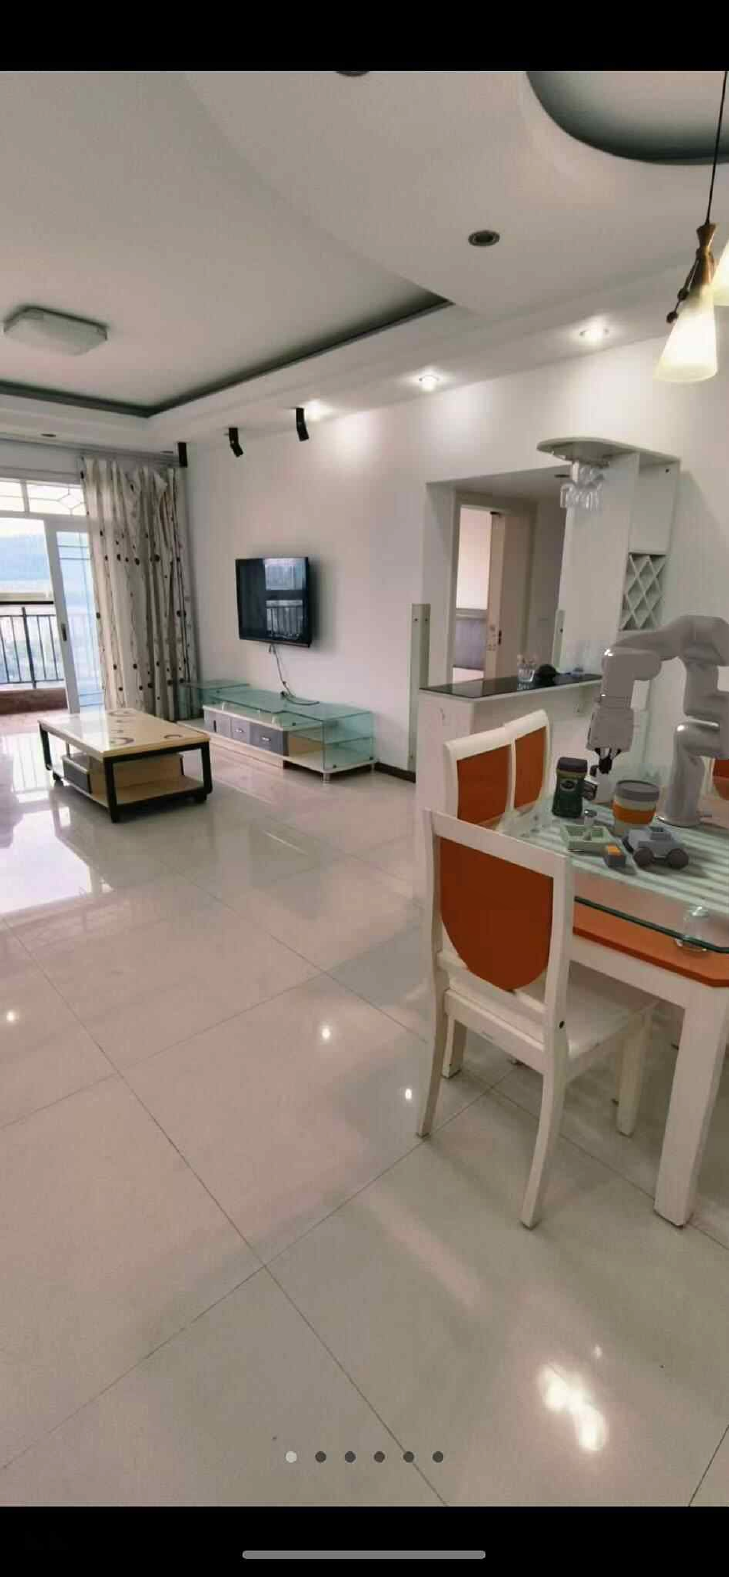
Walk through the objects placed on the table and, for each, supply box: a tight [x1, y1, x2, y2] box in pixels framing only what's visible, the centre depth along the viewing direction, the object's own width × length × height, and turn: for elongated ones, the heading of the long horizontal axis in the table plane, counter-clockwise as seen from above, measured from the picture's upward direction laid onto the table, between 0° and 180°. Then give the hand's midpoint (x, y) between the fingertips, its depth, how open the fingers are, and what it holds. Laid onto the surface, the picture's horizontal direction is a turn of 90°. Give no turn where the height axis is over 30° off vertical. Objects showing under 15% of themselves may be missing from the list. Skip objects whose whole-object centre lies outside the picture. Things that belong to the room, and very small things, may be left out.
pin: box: [582, 808, 598, 841], centre depth 189 cm, size 4×4×9 cm
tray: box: [558, 823, 618, 854], centre depth 190 cm, size 13×13×3 cm
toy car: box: [621, 825, 690, 870], centre depth 180 cm, size 14×12×8 cm
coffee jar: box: [550, 756, 589, 818], centre depth 210 cm, size 10×8×19 cm
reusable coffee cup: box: [612, 779, 661, 838], centre depth 196 cm, size 13×13×15 cm
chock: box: [602, 846, 628, 869], centre depth 176 cm, size 4×4×4 cm
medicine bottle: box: [583, 764, 614, 805], centre depth 225 cm, size 7×7×12 cm
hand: (603, 772), depth 170 cm, fingers closed
